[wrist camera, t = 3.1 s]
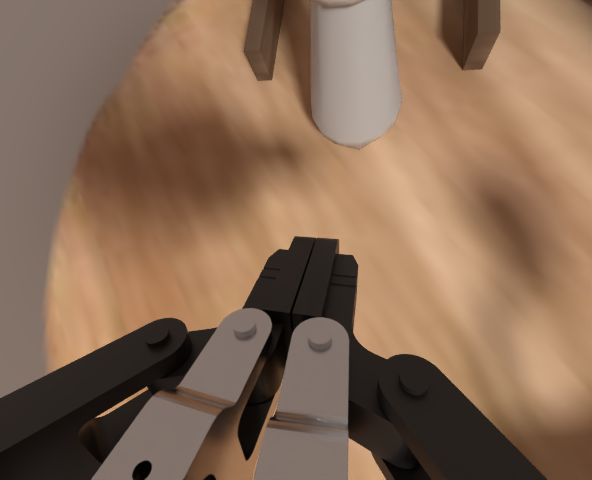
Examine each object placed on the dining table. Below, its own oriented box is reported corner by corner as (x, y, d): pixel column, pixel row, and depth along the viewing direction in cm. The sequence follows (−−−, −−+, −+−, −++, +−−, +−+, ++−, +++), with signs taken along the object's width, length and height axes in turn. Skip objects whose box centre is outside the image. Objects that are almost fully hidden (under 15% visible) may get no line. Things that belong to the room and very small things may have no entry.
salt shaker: (314, 96, 23) (256, -142, 11) (391, 80, 22) (424, -204, 10) (319, 166, 22) (262, -16, 10) (402, 153, 21) (457, -71, 9)
